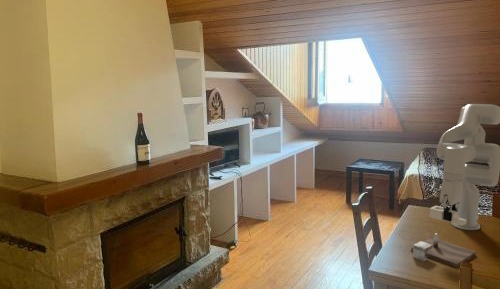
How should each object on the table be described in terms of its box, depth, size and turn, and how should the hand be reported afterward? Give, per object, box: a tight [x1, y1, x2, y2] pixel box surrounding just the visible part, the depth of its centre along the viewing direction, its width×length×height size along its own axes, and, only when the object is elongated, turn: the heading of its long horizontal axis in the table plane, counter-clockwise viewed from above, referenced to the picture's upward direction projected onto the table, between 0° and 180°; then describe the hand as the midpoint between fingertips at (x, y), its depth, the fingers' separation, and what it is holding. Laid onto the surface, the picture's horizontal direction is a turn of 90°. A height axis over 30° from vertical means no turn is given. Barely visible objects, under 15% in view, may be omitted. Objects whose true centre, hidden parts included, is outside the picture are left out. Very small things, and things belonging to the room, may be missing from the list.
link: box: [429, 205, 467, 226], centre depth 160 cm, size 13×5×4 cm, turn 38°
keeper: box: [412, 240, 433, 262], centre depth 159 cm, size 6×5×6 cm
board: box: [410, 236, 477, 268], centre depth 163 cm, size 17×19×2 cm
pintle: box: [433, 233, 440, 247], centre depth 165 cm, size 2×2×6 cm
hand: (449, 218), depth 159 cm, fingers closed on link, 4 cm apart
